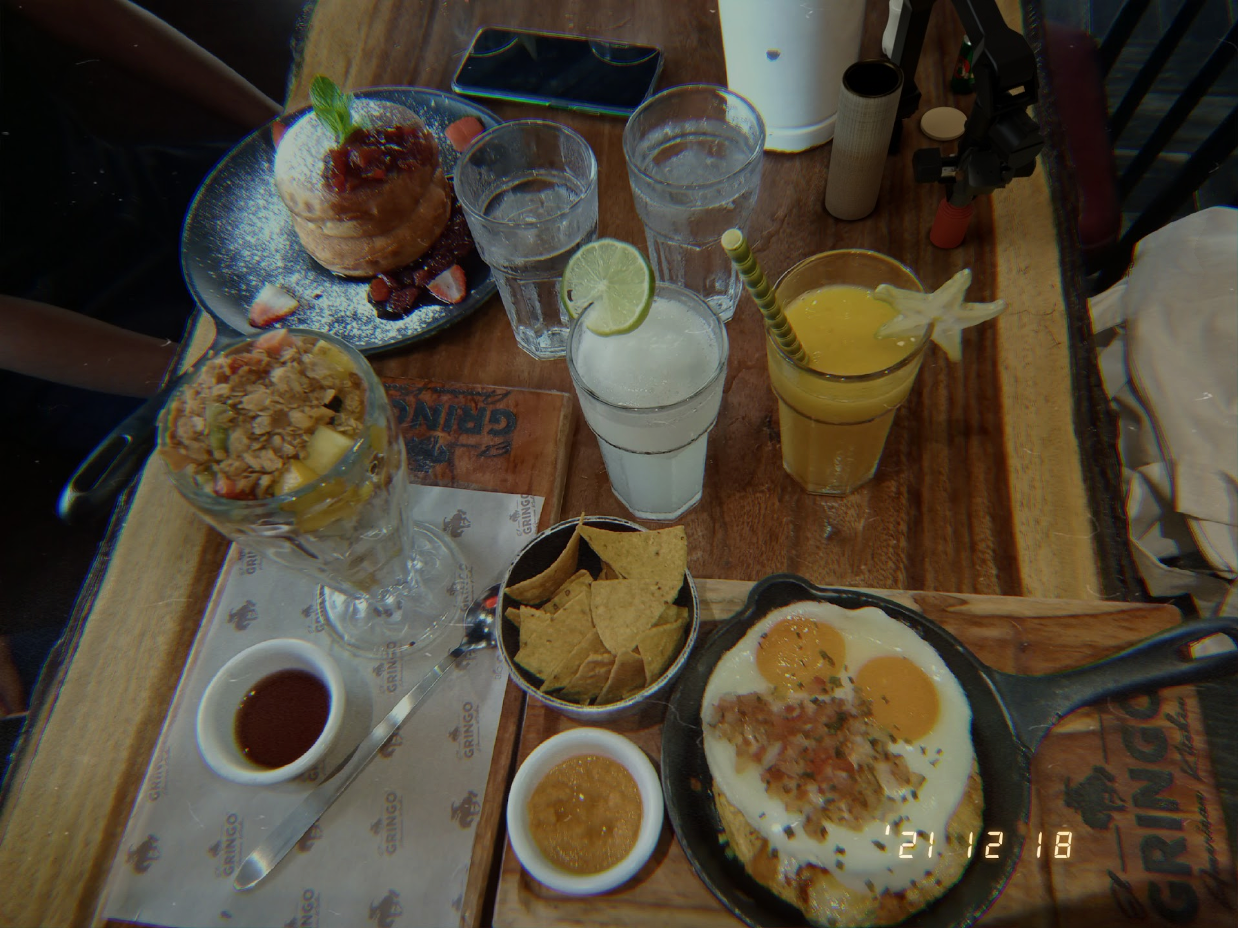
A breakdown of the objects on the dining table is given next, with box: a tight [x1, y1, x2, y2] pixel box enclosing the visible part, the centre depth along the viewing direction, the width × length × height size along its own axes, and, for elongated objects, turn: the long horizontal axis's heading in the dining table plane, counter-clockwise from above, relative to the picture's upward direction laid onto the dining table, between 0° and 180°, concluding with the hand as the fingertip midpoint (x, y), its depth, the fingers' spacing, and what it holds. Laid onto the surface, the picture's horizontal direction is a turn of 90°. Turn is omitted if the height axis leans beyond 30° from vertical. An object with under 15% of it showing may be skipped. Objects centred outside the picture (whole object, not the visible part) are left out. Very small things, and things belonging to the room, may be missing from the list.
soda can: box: [949, 33, 975, 95], centre depth 150 cm, size 5×5×12 cm
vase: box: [824, 57, 904, 221], centre depth 134 cm, size 10×10×28 cm
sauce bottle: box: [929, 196, 975, 250], centre depth 134 cm, size 6×6×12 cm
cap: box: [949, 178, 974, 207], centre depth 129 cm, size 4×4×3 cm
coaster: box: [920, 106, 968, 141], centre depth 151 cm, size 9×9×1 cm
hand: (959, 199), depth 131 cm, fingers closed on cap, 4 cm apart
